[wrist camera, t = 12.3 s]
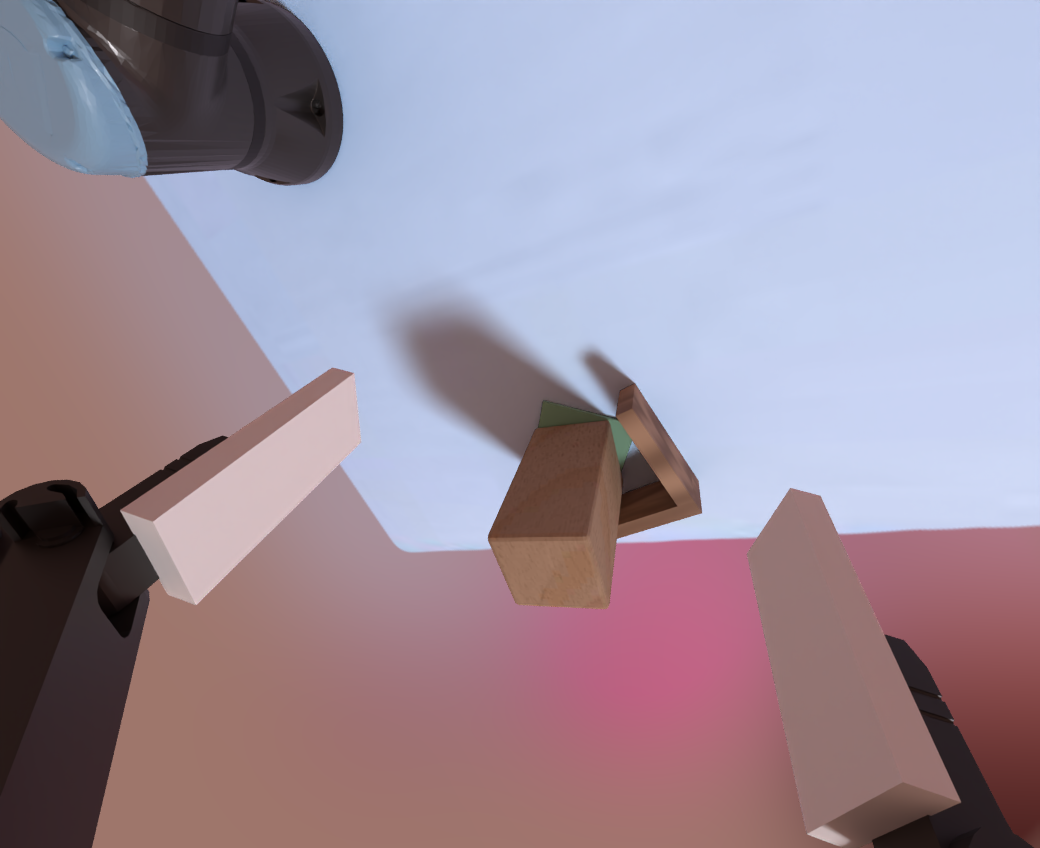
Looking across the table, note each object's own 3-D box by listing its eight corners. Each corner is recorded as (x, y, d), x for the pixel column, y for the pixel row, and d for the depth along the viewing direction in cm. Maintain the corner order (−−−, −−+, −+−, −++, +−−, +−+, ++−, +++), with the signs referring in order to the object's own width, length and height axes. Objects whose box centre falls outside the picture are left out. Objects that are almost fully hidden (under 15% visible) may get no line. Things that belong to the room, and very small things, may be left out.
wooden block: (609, 418, 53) (587, 536, 37) (623, 481, 58) (609, 611, 42) (534, 427, 57) (484, 537, 41) (553, 485, 62) (515, 606, 45)
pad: (530, 471, 62) (529, 472, 61) (543, 400, 55) (542, 401, 55) (613, 494, 60) (612, 495, 60) (637, 424, 53) (637, 425, 53)
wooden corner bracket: (507, 446, 61) (493, 472, 56) (634, 383, 50) (632, 408, 46) (570, 524, 65) (562, 554, 60) (698, 480, 55) (702, 513, 50)
